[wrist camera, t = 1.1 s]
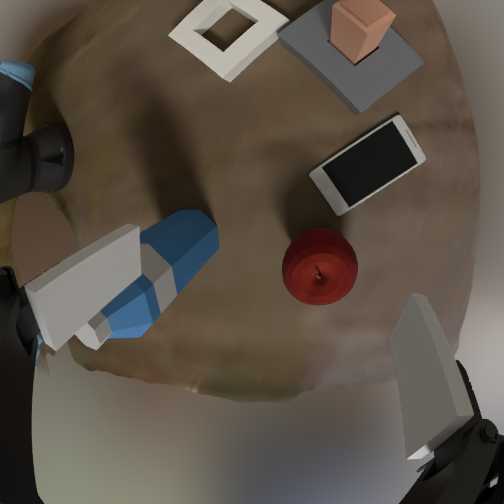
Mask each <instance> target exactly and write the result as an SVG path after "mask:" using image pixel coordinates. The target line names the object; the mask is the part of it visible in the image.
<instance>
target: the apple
mask: <svg viewBox="0 0 504 504" xmlns="http://www.w3.org/2000/svg"><path fill="white" fill-rule="evenodd" d="M357 272H358V262H357V258H356V254H355V252H354V250H353V248H352V246H351V245H350V244H349V242H348V241H347V240H346V239H345V238H344V237H343V236H342V235H341V234H339V233H338V232H336V231H334V230H332V229H329V228H324V227H316V228H312V229H308V230H306V231H304V232H303V233H301V234H300V235H299V236H297V237H296V238H295V239H294V240H293V241H292V242H291V244H290V245H289V247H288V249H287V250H286V252H285V256H284V259H283V263H282V275H283V281H284V284H285V287H286V288H287V290H288V291H289V293H290V294H291V295H292V296H293V297H294V298H296V299H297V300H299V301H301V302H303V303H306V304H310V305H326V304H331V303H333V302H336V301H338V300H340V299H341V298H343V297H344V296H346V295H347V294H348V293H349V292H350V290H351V289H352V287H353V285H354V283H355V281H356V278H357Z"/></svg>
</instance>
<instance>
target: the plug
mask: <svg viewBox="0 0 504 504" xmlns="http://www.w3.org/2000/svg"><path fill="white" fill-rule="evenodd" d="M395 16H396V15H395V14H394V13H393V12H392V11H390V10H389V9H388V8H387V7H386V6H385V5H383V4H382V3H381V2H380V1H379V0H340V1H338V2H337V3H335V4H334V5H333V6H332V24H331V38H330V44H331V45H332V46H333V47H335V48H336V49H337V50H338V51H339V52H340V53H341V54H342V55H343V56H344V57H346V58H347V59H348V60H349V61H350V62H351V63H352V64H353V65H354V66H356V65H358V64H359V63H360V62H361V61H363V60H364V59H365V58H367V57H368V56H369V55H371V54H372V53H373V52H374V51H375V49H376V47H377V46H378V44H379V42H380V41H381V39H382V38H383V36H384V34H385V33H386V31H387V29H388V28H389V26H390V24H391V23H392V21H393V20H394V18H395Z"/></svg>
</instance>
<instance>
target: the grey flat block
mask: <svg viewBox="0 0 504 504" xmlns="http://www.w3.org/2000/svg"><path fill="white" fill-rule="evenodd" d="M338 1H340V0H323V1H322V2H320V3H319V4H317V5H316V6H315V7H313V8H312V9H310V10H309V11H307V12H306V13H305V14H303V15H302V16H300V17H299V18H298V19H296V20H295V21H294V22H292V23H291V24H290V25H289V26H287V27H286V28H285V29H283V30H282V31H281V32H280V33H278V34H277V36H278V38H279V40H280V42H281V44H282V45H283V46H284V47H285V48H286V49H288V50H289V51H290V52H291V53H292V54H294V55H295V56H296V57H297V58H298V59H299V60H301V61H302V62H303V63H304V64H305V65H306V66H307V67H308V68H310V69H311V70H312V71H313V72H314V73H315V74H316V75H317V76H318V77H319V78H320V79H321V80H322V81H323V82H324V83H326V84H327V85H328V86H329V87H330V88H331V89H332V90H333V91H334V92H335V93H336V94H337V96H338V97H339V98H340V99H341V100H342V101H343V102H344V103H345V104H346V105H347V106H348V107H349V108H350V109H351V110H352V112H353V113H354V114H355V115H356V116H357V115H359V114H361V113H362V112H363V111H364V110H366V109H367V108H368V107H369V106H371V105H372V104H373V103H374V102H376V101H377V100H378V99H379V98H381V97H382V96H383V95H384V94H386V93H387V92H388V91H389V90H391V89H392V88H393V87H394V86H396V85H397V84H398V83H400V82H401V81H402V80H403V79H405V78H406V77H407V76H409V75H410V74H411V73H412V72H414V71H415V70H416V69H418V68H419V67H420V66H422V65H423V64H424V61H423V60H422V59H421V58H420V57H419V56H418V55H417V54H416V52H415V51H414V50H413V49H412V48H411V47H410V46H409V45H408V44H407V43H406V42H405V41H404V40H403V39H402V38H401V37H400V36H399V35H398V34H397V33H396V32H395V31H394V30H393V29H392V28H391V27H390V26H389V28H388V29H387V31H386V33H385V34H384V36H383V38H382V39H381V41H380V42H379V44H378V46H377V47H376V49H375V51H374V52H373V53H372V54H371V55H369V56H368V57H367V58H365V59H364V60H363V61H361V62H360V63H359V64H358V65H356V66H354V65H353V64H352V63H351V62H350V61H349V60H348V59H347V58H346V57H344V56H343V55H342V54H341V53H340V52H339V51H338V50H337V49H336V48H335V47H333V46H332V45H331V44H330V38H331V24H332V6H333V5H334V4H335V3H337V2H338Z"/></svg>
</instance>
